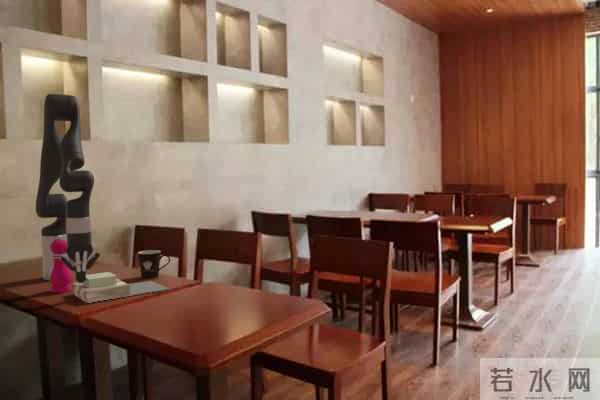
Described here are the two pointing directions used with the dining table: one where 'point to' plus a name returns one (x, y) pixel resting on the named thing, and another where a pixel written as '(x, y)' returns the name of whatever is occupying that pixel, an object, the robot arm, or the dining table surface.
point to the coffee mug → (150, 263)
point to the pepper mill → (60, 267)
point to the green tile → (100, 280)
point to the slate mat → (145, 288)
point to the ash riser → (101, 292)
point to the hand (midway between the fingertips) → (80, 282)
